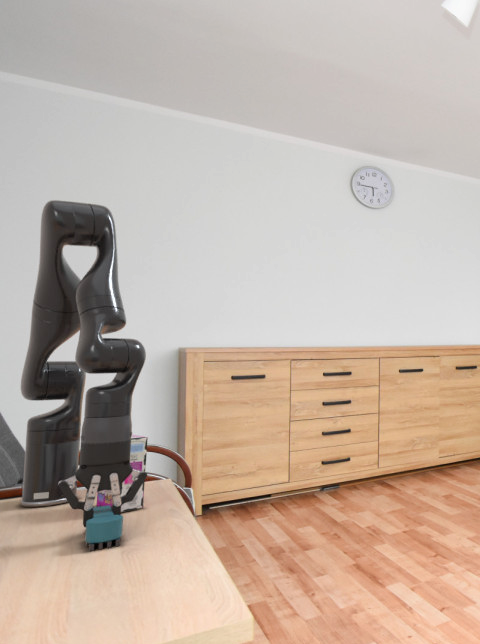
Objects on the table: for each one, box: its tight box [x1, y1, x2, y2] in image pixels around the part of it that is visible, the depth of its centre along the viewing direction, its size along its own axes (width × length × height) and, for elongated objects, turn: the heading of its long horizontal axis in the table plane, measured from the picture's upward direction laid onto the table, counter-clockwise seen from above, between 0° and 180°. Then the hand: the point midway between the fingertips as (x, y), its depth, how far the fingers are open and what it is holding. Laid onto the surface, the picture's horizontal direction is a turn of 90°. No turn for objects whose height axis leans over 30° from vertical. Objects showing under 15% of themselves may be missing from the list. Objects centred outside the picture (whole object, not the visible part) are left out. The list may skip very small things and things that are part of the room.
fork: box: [84, 537, 121, 552], centre depth 109 cm, size 16×5×1 cm, turn 45°
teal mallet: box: [84, 505, 124, 543], centre depth 108 cm, size 14×5×4 cm, turn 45°
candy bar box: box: [95, 434, 149, 514], centre depth 129 cm, size 11×5×16 cm, turn 62°
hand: (101, 526), depth 110 cm, fingers closed on teal mallet, 2 cm apart
